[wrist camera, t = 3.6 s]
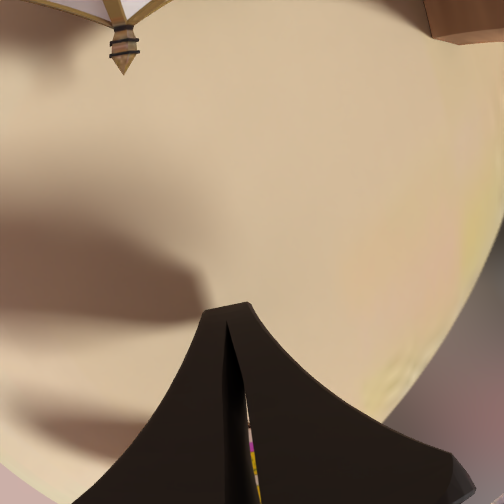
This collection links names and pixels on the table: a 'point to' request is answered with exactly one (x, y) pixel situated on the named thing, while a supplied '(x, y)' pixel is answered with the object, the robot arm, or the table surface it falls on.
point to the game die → (111, 21)
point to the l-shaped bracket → (466, 20)
